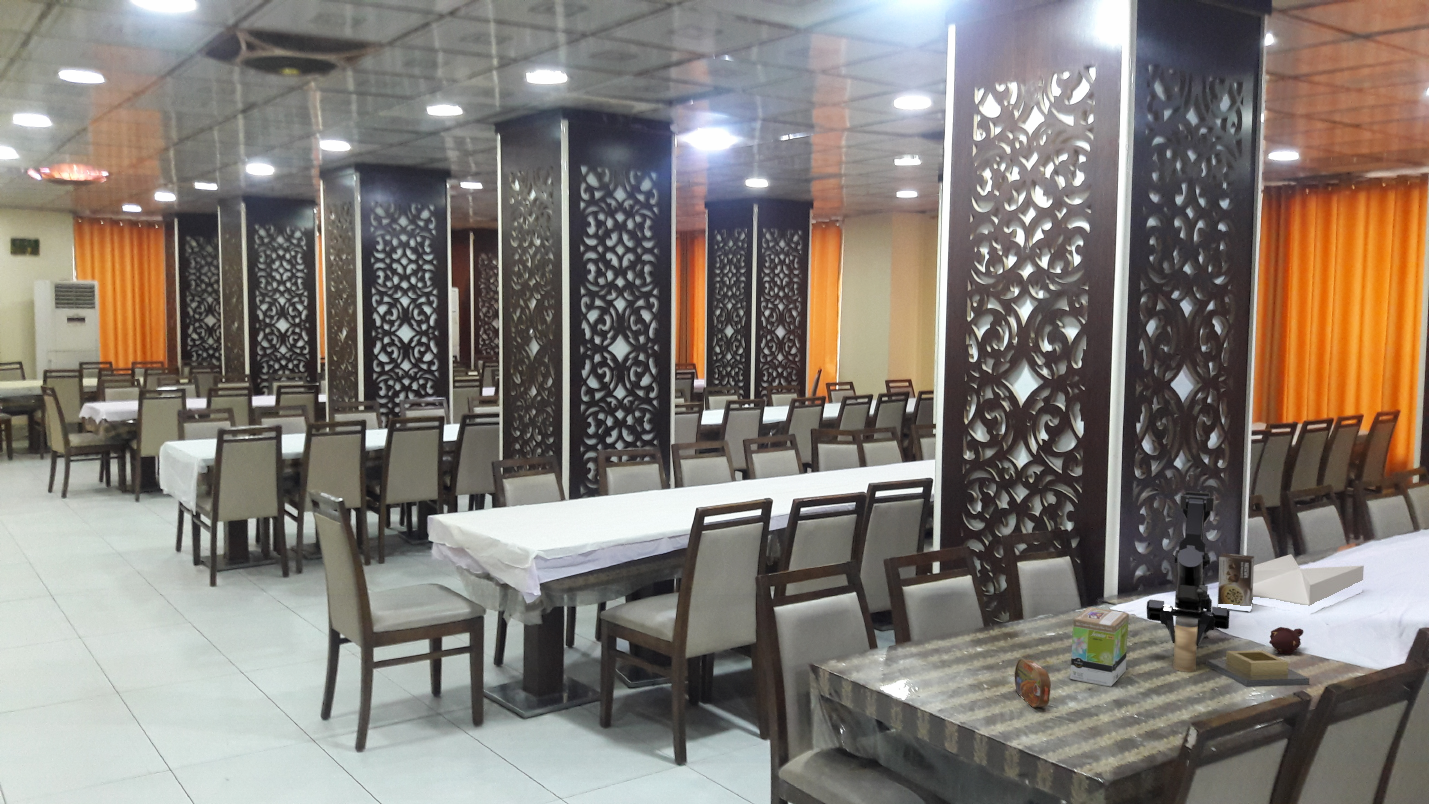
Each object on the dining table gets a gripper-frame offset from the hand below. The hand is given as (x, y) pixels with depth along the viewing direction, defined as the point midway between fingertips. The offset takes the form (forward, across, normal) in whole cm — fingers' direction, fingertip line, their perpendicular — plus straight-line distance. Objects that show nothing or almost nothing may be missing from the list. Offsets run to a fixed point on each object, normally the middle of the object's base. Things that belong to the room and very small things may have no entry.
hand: (1185, 643), depth 264 cm
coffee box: (-48, +11, +58) cm, 76 cm away
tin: (+34, -29, -24) cm, 51 cm away
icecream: (-16, +23, +26) cm, 38 cm away
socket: (+1, +16, +8) cm, 18 cm away
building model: (-68, +29, +78) cm, 107 cm away
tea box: (+15, -18, -5) cm, 24 cm away
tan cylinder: (+4, 0, +6) cm, 7 cm away
